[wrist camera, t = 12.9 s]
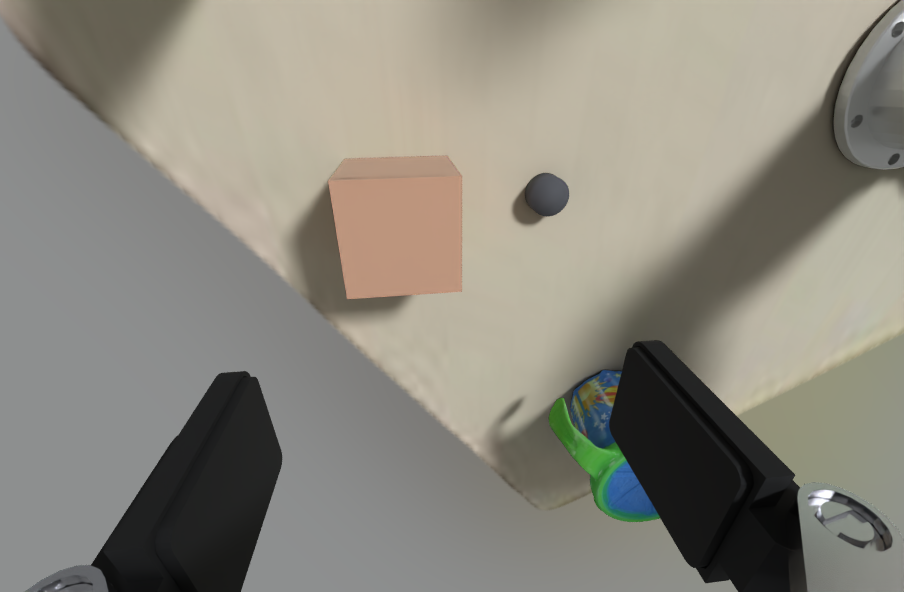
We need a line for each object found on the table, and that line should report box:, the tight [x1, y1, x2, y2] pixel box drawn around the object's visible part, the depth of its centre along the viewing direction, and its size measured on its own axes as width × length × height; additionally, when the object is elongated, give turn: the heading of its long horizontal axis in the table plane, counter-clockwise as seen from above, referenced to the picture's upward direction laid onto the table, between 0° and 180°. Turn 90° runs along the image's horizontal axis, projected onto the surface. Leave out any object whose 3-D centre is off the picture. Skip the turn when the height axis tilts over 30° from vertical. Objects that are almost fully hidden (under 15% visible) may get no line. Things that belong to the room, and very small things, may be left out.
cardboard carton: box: [328, 156, 462, 299], centre depth 25 cm, size 7×7×7 cm
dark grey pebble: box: [525, 173, 569, 216], centre depth 28 cm, size 3×3×2 cm
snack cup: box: [549, 370, 660, 522], centre depth 35 cm, size 16×10×10 cm
